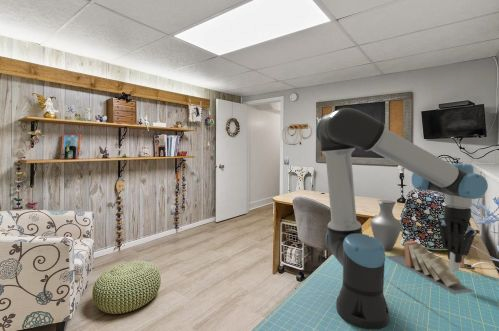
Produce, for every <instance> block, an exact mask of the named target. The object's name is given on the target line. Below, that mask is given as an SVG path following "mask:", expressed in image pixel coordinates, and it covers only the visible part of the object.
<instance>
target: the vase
mask: <svg viewBox="0 0 499 331" xmlns="http://www.w3.org/2000/svg"><path fill="white" fill-rule="evenodd" d="M377 203H378V205H379V210H380V211H379V213H378V214H377V216H374V217H373V218H371V219H370V227H371V232H372V236H373V237H374V238H376V239H377V240H379V241H380V242H381V243H382V244H383V246H384V250H385V251H392V250H393V248H394V246H395V244H396V243H397V241H398V238H399V235H400V233H401V231H402V228H403V225H402V222H400V220H398V219H397V218H396V217H395V215H394V213H393V209H394V207H395V204H396V203H397V201H395V200H392V199H377Z"/></svg>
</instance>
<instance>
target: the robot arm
mask: <svg viewBox="0 0 499 331" xmlns="http://www.w3.org/2000/svg"><path fill="white" fill-rule="evenodd" d="M315 136H316V138H317V140H318V141H319V145H320V152H321V153H322V154H323V155H324V156H325V164H326V176H327V184H328V194H329V195H328V196H329V198H328V199H329V208H330V218H331V220H330V221H329V222H328V223H327V231H326V234H325V244H326V247H327V249H328V250H329V252H330V253H331V255H333V256H334V258H335V259H336V260H337V261H338V263H339V264H340V265H341V266H342V285H341V288H340V290H339V292H338V295H337V298H336V301H335V303H336V306H335V308H336V311H337V313H338V315H339V316H340V317H341V318H342V319H344V320H345V321H346V322H348V323H349V324H352V325H353V326H357V327H360V328H363V329H367V330H368V329H370V330H377V329H383V328H384V327H386V326H387V325H388V324H389V320H390V311H389V308H388V305H387V301H386V298H385V294H384V285H385V281H384V279H385V265H386V264H385V262H386V253H385V252H386V250H384V246H383V244H382V243H381V242H380V241H379V240H377V239H376V238H374V236H370V235H368V234H364V233H363V227H362V224H361V222H360V221H358V220H357V209H356V199H355V198H356V197H355V186H354V175H353V174H354V173H353V160H352V159H353V158H352V154H353V152H354V151H355V150H356V148H358V149H360V150H363V151H364V152H369V151H372V152H373V153H376V154H377V155H379V156H381V157H383V158H384V159H386V160H389V161H391V162H392V163H394V164H396V165H398V166H400V167H402V168H404V169H406V170H407V171H409V172H411V173H412V175H411V184H412V186H413V188H414V189H415V190H418V191H432V192H436V193H437V192H438V193H442V194H444V207H443V209H444V210H443V215H444V218H443V220H438V221H437V225H438V227H439V232H440V238H441V244H442V247H443V248H444V249H446V250H447V260H449V265H448V267H449V269H450V270H452V272H457V271H460V267H459V263H461V262H462V254H468V255H469V252H470V251H471V248H472V244H473V242H474V238H475V237H476V236H477V234H479V230H477V229H474V228H473V227H472V224H471V221H470V220H471V218H472V208H471V207H472V202H473V201H472V200H476V199H480V198H482V197H484V195H485V194H486V193H487V191H488V187H489V184H488V181H487V179H486V177H484V176H483V175H481V174H477V173H475V172H474V166H473V165H472V164H468V163H449V162H448V161H446V160H444V159H442V158H440V157H438V156H436V155H435V154H433V153H432V152H429V151H428V150H426V149H424V148H422V147H420V146H418V145H417V144H414V143H413V142H411V141H409V140H407V139H405V138H404V137H402V136H401V135H398V134H396V133H395V132H392V131H391V130H389V129H387V128H386V124H385V123H384V122H382V121H381V120H378V119H376V118H374V117H373V116H371V115H370V114H367V113H365V112H363V111H361V110H358V109H356V108H352V107H351V108H350V107H342V108H339V109H337V110H335V111H332V112H329V113H327V114H325V115H324V116H323V117H321V118H320V120H319V121H318V122H317V124H316V127H315Z"/></svg>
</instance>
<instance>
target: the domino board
mask: <svg viewBox="0 0 499 331" xmlns="http://www.w3.org/2000/svg"><path fill="white" fill-rule="evenodd" d="M385 258H387V259H389V260H391V262H395V263H396V264H398V265H400V266H402V267H403V268H405V269H407V270H409V271H411V272H412V273H415V274H417V275H418V276H420V277H422V278H424V279H426V280H428V281H429V282H431V283H433V284H435V285H436V286H439V287H440V288H443V289H444V290H446V291H448V292H449V293H451V294H454V295H458V294H464V293H471V292H474V290H473V289H471V288H470V287H467V286H465V285H463V284H462V283H461V284H459V285H458V286H451V287H447V286H446V285H445V283H444V282H443V281H442V280H439V281H435V279H434V278H433V276H432V275H425V274H424V272H423V270H415V267H414V266H413V267H409V266H406V256H405V255H402V254H397V255H395V254H394V255H388V256H386V255H385Z"/></svg>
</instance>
